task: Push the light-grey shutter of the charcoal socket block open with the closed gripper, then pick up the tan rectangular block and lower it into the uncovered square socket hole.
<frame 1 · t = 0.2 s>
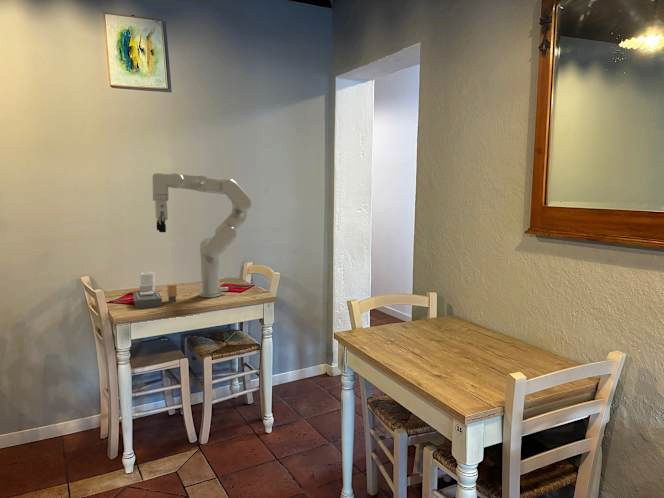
hand: (161, 231, 248), 36 cm above the table, tool pointing down, fingers open, 9 cm apart
shutter: (146, 290, 246), point 6 cm above the table, slide at 0.0 cm
socket: (147, 303, 244), on the table
white cup: (148, 290, 270), on the table
tan rectangular block: (172, 301, 249), on the table
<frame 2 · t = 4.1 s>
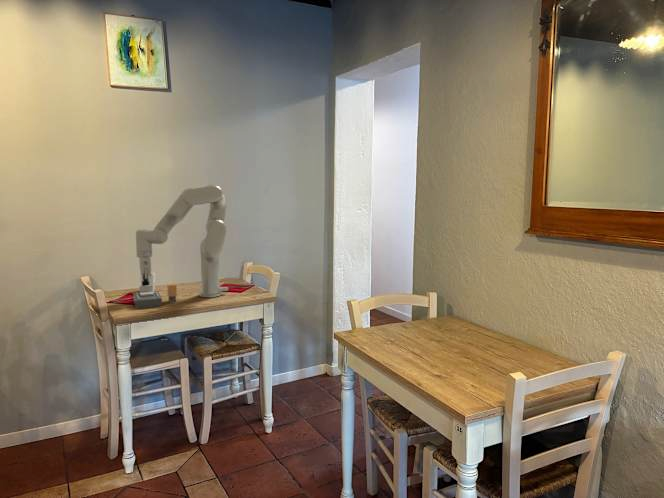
hand: (145, 288, 250), 6 cm above the table, tool pointing down, fingers closed
shutter: (146, 290, 245), point 6 cm above the table, slide at 0.6 cm, touching gripper
everything else where it was.
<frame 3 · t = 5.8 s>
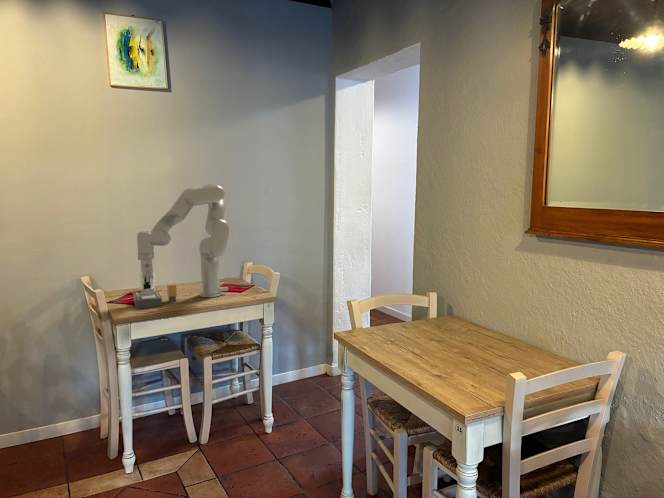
hand: (147, 291, 243), 6 cm above the table, tool pointing down, fingers closed
shutter: (148, 293, 238), point 6 cm above the table, slide at 8.5 cm, touching gripper
everything else where it was.
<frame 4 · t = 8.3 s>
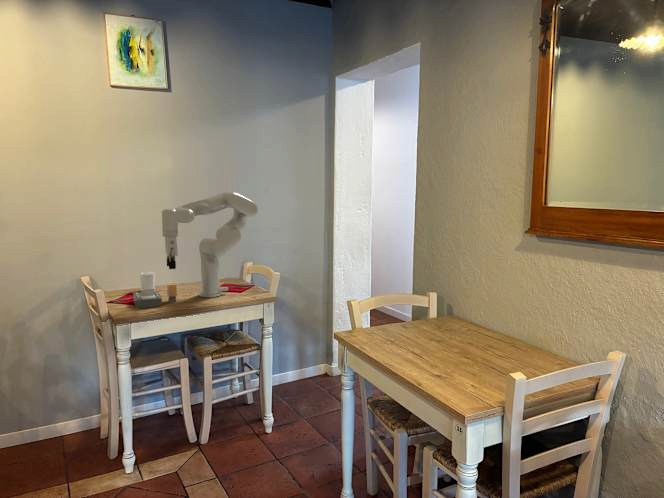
hand: (171, 267, 247), 18 cm above the table, tool pointing down, fingers open, 7 cm apart
shutter: (148, 294, 238), point 6 cm above the table, slide at 8.6 cm
everything else where it was.
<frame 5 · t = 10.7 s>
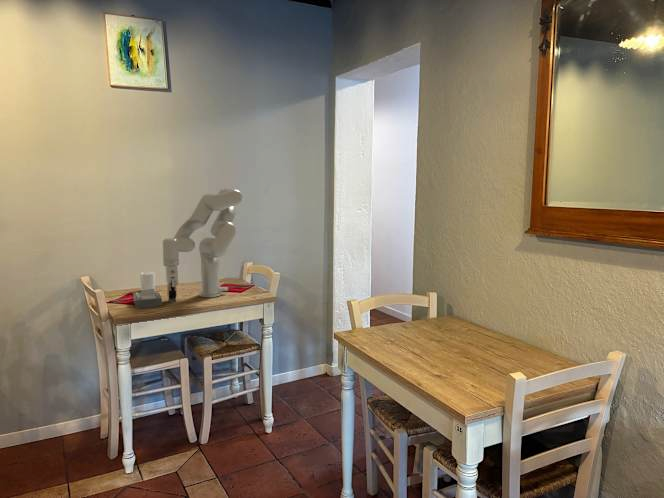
hand: (172, 296, 249), 2 cm above the table, tool pointing down, fingers closed on tan rectangular block, 4 cm apart
tan rectangular block: (172, 301, 249), on the table, touching gripper
everything else where it was.
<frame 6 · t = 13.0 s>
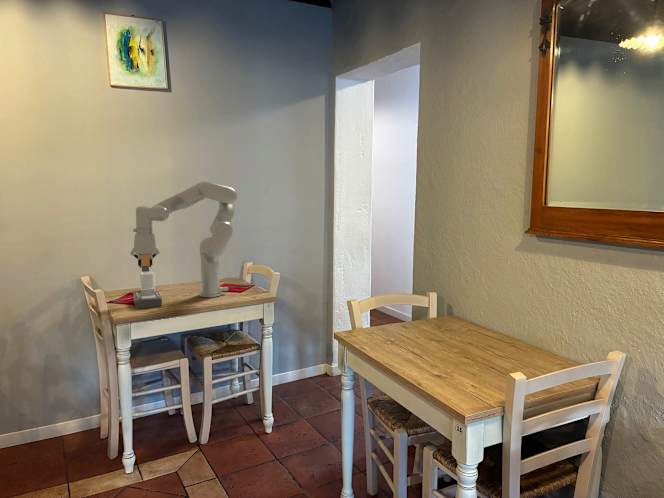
hand: (145, 266, 244), 18 cm above the table, tool pointing down, fingers closed on tan rectangular block, 4 cm apart
tan rectangular block: (145, 271, 244), point 16 cm above the table, touching gripper
everything else where it was.
when the fingers open (5 cm above the table, at t = 15.3 s): tan rectangular block drops 2 cm, resting in socket.
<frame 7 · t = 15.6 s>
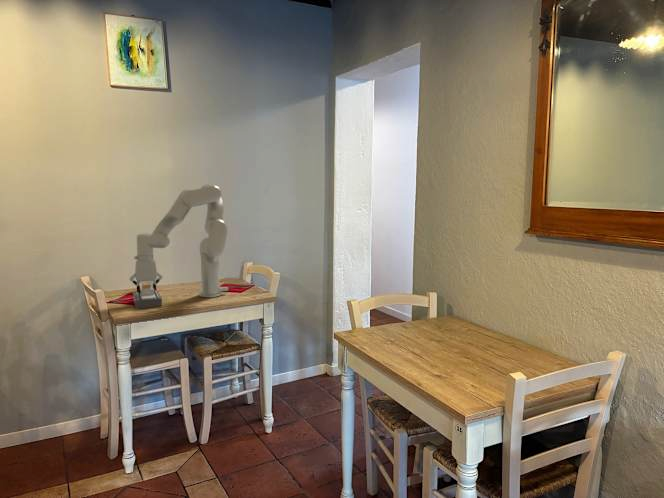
hand: (146, 292, 246), 5 cm above the table, tool pointing down, fingers open, 6 cm apart
tan rectangular block: (147, 301, 247), resting in socket
everything else where it was.
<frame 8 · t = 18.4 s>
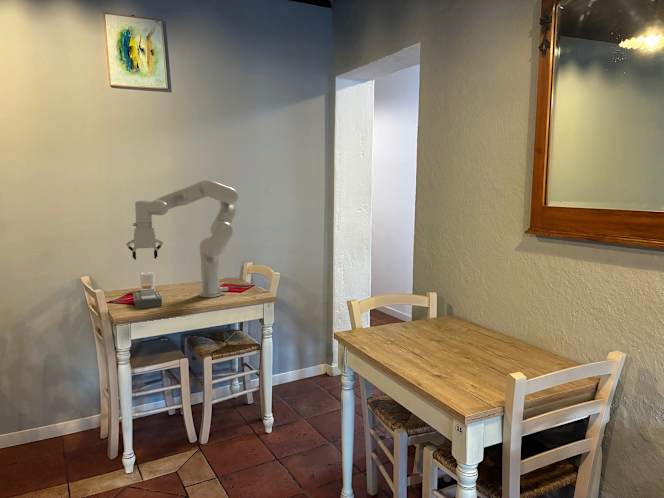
hand: (145, 258, 244), 22 cm above the table, tool pointing down, fingers open, 9 cm apart
nothing on the table moved.
at the end: shutter slide at 8.6 cm; tan rectangular block 0.0 cm from the target spot on the socket, point 0.0 cm above the socket's base; tan rectangular block tilted 0° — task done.
